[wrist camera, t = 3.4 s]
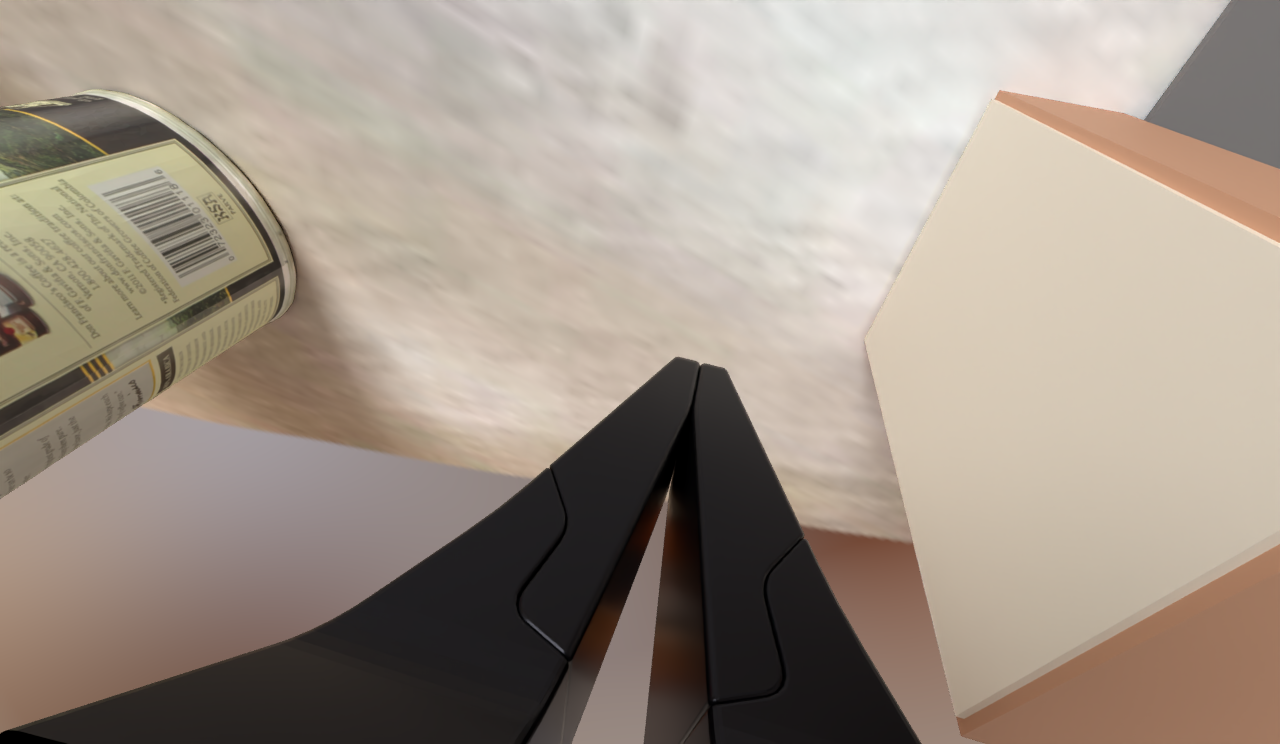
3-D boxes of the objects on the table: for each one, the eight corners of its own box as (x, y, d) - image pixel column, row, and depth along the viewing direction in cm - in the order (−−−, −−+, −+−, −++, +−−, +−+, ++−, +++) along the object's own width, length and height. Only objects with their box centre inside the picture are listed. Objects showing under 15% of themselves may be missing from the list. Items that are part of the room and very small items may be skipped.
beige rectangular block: (1123, 113, 12) (2226, 507, 3) (950, 362, 17) (1148, 792, 8) (993, 89, 12) (1617, 376, 3) (861, 341, 17) (952, 733, 8)
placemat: (2021, 77, 9) (2043, 79, 9) (1283, 514, 18) (1287, 519, 18) (1260, -41, 10) (1267, -41, 10) (922, 425, 19) (923, 429, 19)
